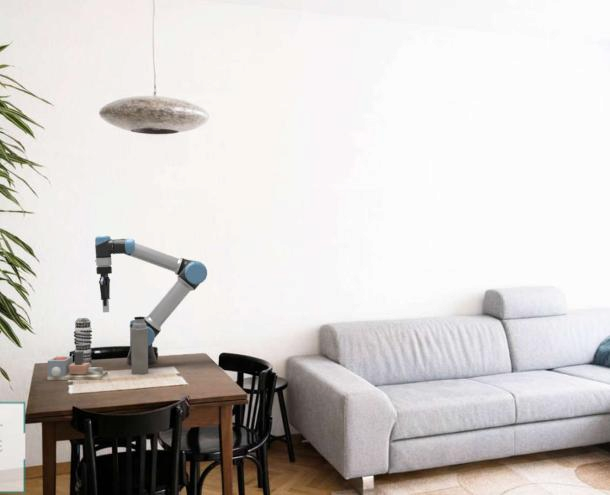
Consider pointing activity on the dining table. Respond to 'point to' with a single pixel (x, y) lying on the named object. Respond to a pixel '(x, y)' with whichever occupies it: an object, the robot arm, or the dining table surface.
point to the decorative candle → (83, 338)
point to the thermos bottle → (139, 346)
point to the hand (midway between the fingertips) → (106, 312)
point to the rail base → (84, 375)
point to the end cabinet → (59, 367)
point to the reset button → (60, 358)
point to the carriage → (78, 364)
